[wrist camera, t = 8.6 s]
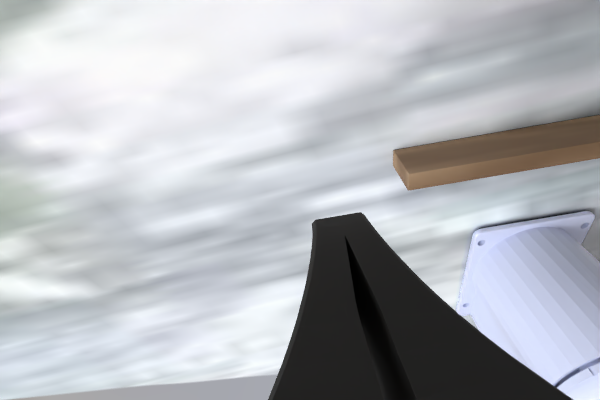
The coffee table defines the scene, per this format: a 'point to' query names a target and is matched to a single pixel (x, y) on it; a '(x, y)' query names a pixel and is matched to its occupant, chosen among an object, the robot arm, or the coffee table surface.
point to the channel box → (499, 153)
